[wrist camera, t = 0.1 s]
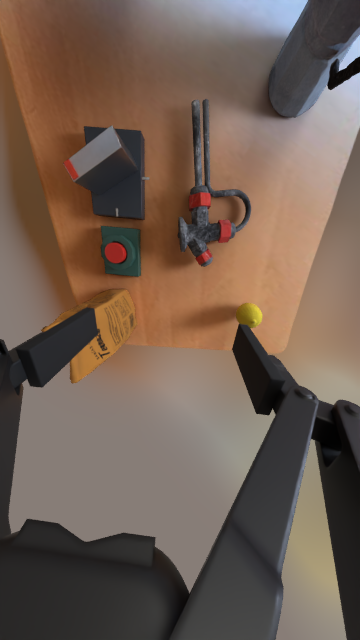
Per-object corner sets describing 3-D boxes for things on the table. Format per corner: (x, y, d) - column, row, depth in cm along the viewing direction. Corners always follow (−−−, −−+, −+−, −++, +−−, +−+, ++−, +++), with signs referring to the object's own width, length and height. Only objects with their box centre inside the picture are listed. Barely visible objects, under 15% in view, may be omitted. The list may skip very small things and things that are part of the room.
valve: (241, 262, 40) (179, 267, 39) (248, 113, 31) (167, 118, 30) (254, 263, 34) (181, 269, 33) (268, 79, 25) (167, 84, 24)
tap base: (83, 133, 31) (74, 123, 29) (153, 138, 31) (149, 129, 28) (92, 215, 37) (85, 213, 34) (151, 221, 36) (148, 219, 34)
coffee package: (108, 331, 49) (50, 391, 29) (95, 289, 44) (13, 327, 24) (141, 328, 48) (105, 390, 28) (131, 286, 43) (78, 323, 23)
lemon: (252, 296, 41) (265, 307, 34) (256, 315, 43) (269, 329, 36) (230, 302, 43) (238, 314, 35) (235, 321, 45) (243, 336, 37)
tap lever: (131, 153, 30) (110, 123, 22) (138, 169, 31) (120, 145, 23) (92, 181, 32) (61, 162, 24) (99, 195, 33) (72, 181, 25)
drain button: (107, 241, 35) (103, 241, 34) (126, 243, 35) (123, 243, 33) (109, 261, 37) (105, 262, 35) (127, 263, 37) (124, 264, 35)
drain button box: (105, 226, 37) (95, 224, 34) (140, 229, 37) (134, 228, 33) (109, 272, 41) (101, 274, 38) (140, 275, 41) (135, 278, 38)
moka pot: (338, -11, 23) (887, -968, 5) (324, 137, 29) (544, -43, 11) (265, 19, 24) (479, -634, 6) (266, 154, 30) (376, 20, 12)
